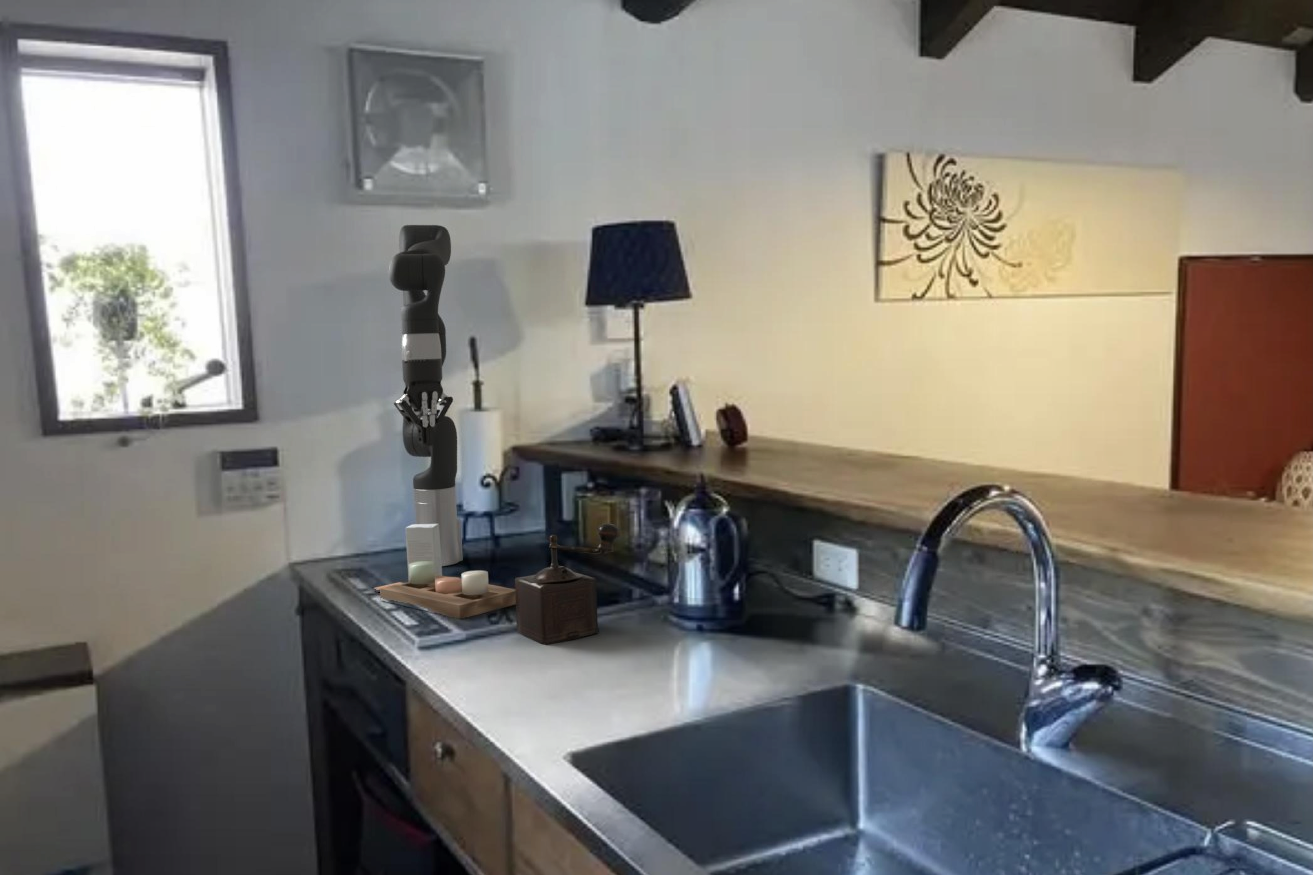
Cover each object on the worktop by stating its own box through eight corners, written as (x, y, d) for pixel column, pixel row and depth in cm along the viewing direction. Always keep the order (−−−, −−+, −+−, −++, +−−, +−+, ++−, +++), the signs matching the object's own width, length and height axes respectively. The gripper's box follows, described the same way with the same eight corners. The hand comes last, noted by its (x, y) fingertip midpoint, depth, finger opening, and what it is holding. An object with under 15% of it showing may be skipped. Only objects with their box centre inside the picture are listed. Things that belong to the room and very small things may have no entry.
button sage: (425, 577, 208) (424, 560, 208) (440, 580, 205) (439, 562, 205) (404, 582, 205) (403, 564, 204) (419, 585, 201) (418, 567, 201)
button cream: (477, 587, 198) (476, 569, 197) (494, 591, 195) (493, 572, 194) (456, 592, 194) (456, 574, 194) (473, 596, 191) (472, 577, 191)
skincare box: (443, 580, 219) (440, 523, 218) (436, 584, 215) (433, 526, 214) (414, 580, 220) (411, 523, 219) (407, 585, 216) (404, 527, 215)
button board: (439, 587, 213) (439, 574, 213) (519, 603, 197) (518, 590, 197) (380, 601, 202) (379, 588, 202) (459, 619, 187) (459, 605, 187)
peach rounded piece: (451, 593, 203) (450, 575, 203) (467, 597, 200) (466, 578, 200) (430, 598, 200) (429, 580, 199) (446, 602, 196) (445, 583, 196)
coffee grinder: (546, 646, 168) (541, 535, 166) (514, 632, 177) (510, 526, 176) (628, 629, 177) (624, 523, 175) (594, 616, 186) (590, 515, 184)
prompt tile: (399, 586, 215) (399, 582, 215) (417, 589, 211) (417, 585, 211) (374, 591, 211) (374, 587, 211) (392, 595, 207) (391, 591, 207)
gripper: (437, 356, 213) (441, 442, 214) (381, 358, 203) (386, 448, 204) (461, 356, 208) (465, 443, 209) (405, 358, 198) (409, 450, 199)
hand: (426, 445), depth 207 cm, fingers closed
